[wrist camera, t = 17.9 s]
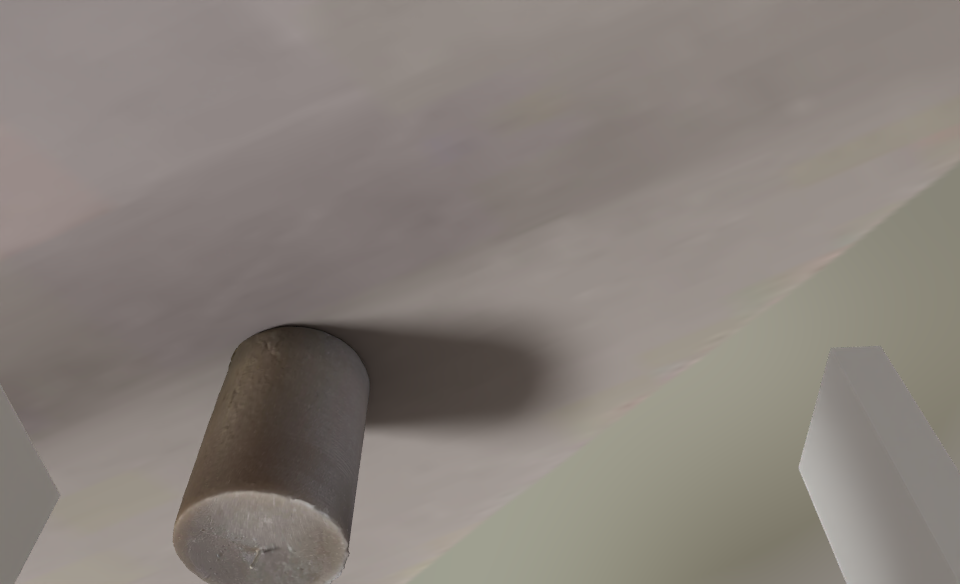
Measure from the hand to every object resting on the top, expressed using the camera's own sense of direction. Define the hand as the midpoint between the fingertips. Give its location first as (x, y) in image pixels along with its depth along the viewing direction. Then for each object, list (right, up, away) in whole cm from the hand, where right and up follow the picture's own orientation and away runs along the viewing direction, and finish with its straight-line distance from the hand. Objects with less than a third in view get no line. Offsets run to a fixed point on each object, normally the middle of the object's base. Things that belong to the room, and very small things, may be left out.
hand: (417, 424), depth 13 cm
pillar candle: (-11, -4, +42) cm, 44 cm away
